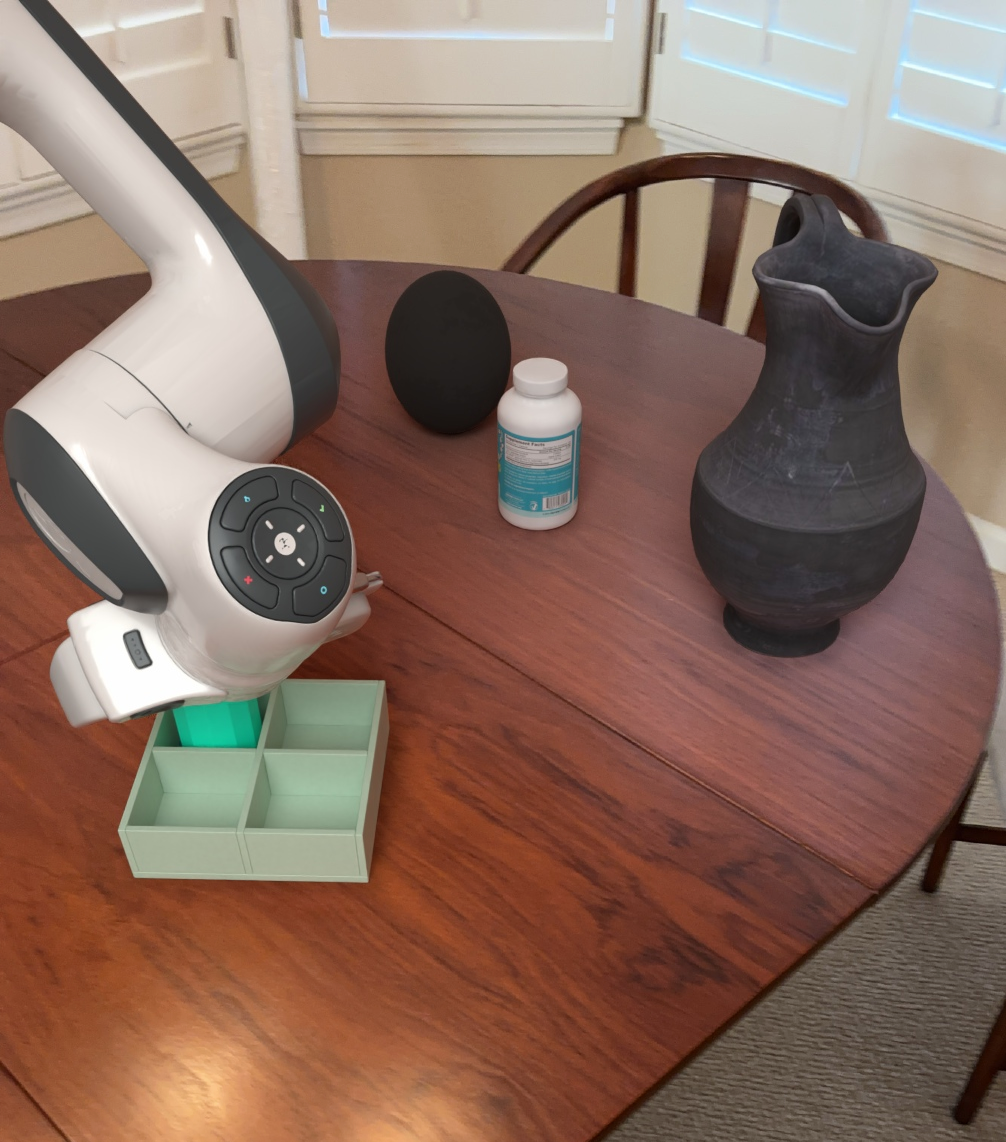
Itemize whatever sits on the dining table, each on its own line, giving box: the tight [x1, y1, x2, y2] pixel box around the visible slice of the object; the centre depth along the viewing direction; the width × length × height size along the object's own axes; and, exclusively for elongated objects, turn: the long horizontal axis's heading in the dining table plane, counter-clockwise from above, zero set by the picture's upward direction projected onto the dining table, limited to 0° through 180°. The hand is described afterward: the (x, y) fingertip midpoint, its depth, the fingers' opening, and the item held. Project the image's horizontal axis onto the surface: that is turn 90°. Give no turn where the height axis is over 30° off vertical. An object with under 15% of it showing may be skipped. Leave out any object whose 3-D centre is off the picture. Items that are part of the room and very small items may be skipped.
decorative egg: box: [384, 269, 512, 434], centre depth 115 cm, size 12×12×15 cm
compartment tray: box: [117, 678, 390, 884], centre depth 83 cm, size 16×16×5 cm
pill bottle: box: [496, 357, 583, 531], centre depth 105 cm, size 8×7×14 cm
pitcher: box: [689, 192, 939, 658], centre depth 89 cm, size 17×21×30 cm
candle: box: [173, 698, 262, 749], centre depth 82 cm, size 6×6×12 cm
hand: (201, 667), depth 82 cm, fingers open, 8 cm apart
